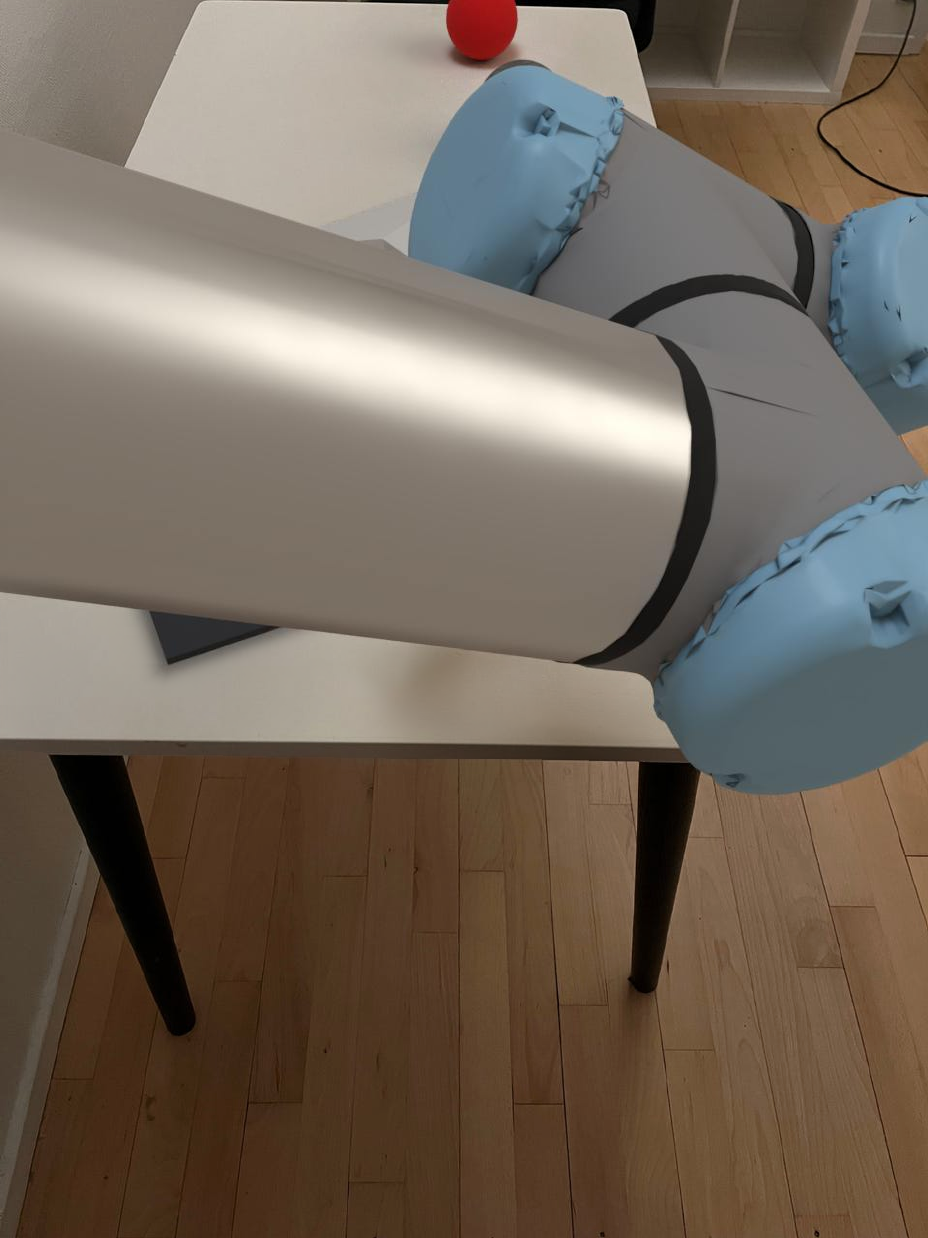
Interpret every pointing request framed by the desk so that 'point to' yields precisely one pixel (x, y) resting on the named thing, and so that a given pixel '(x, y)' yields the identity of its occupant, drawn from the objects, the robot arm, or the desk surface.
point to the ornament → (481, 26)
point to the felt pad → (199, 633)
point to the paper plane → (379, 225)
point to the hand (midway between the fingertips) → (380, 508)
